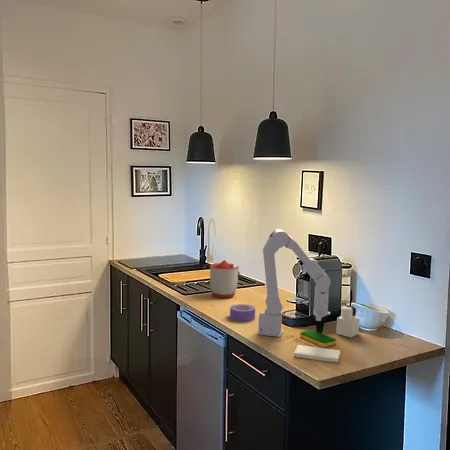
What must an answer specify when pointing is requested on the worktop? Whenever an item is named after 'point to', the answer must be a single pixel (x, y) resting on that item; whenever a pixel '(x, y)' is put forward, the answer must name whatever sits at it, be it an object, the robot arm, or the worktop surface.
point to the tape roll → (242, 312)
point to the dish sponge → (318, 338)
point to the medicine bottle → (347, 322)
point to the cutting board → (317, 353)
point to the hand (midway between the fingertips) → (319, 332)
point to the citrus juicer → (223, 279)
